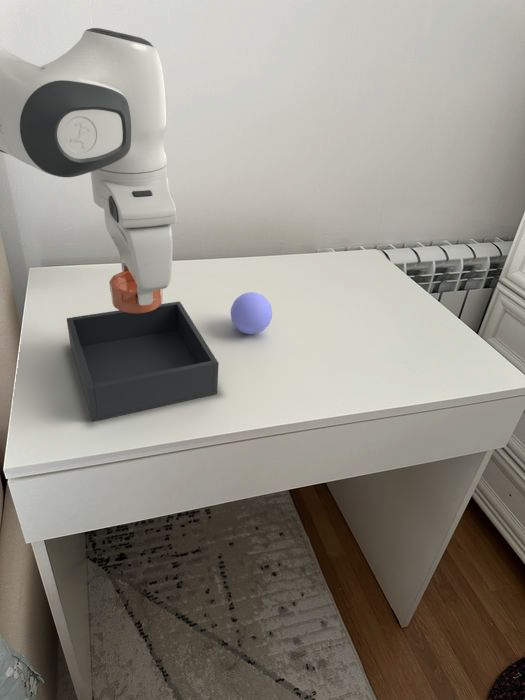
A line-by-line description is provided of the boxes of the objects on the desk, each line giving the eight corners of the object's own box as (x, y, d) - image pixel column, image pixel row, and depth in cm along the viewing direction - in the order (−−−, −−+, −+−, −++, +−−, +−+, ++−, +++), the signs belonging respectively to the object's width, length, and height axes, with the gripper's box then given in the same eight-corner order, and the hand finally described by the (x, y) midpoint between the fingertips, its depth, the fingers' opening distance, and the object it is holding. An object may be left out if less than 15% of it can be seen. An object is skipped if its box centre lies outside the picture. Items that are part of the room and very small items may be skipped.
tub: (92, 422, 70) (87, 389, 67) (70, 348, 83) (66, 318, 80) (217, 393, 77) (218, 362, 74) (180, 330, 90) (179, 301, 86)
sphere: (253, 347, 87) (256, 310, 83) (221, 330, 91) (222, 294, 87) (278, 330, 92) (282, 295, 88) (247, 315, 95) (249, 280, 91)
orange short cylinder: (118, 317, 69) (116, 297, 68) (107, 292, 74) (105, 273, 73) (168, 309, 72) (168, 289, 70) (155, 285, 77) (154, 266, 75)
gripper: (87, 162, 70) (98, 257, 78) (123, 220, 56) (131, 331, 63) (135, 159, 73) (140, 253, 81) (181, 215, 58) (182, 322, 66)
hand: (136, 288), depth 72 cm, fingers closed on orange short cylinder, 7 cm apart
